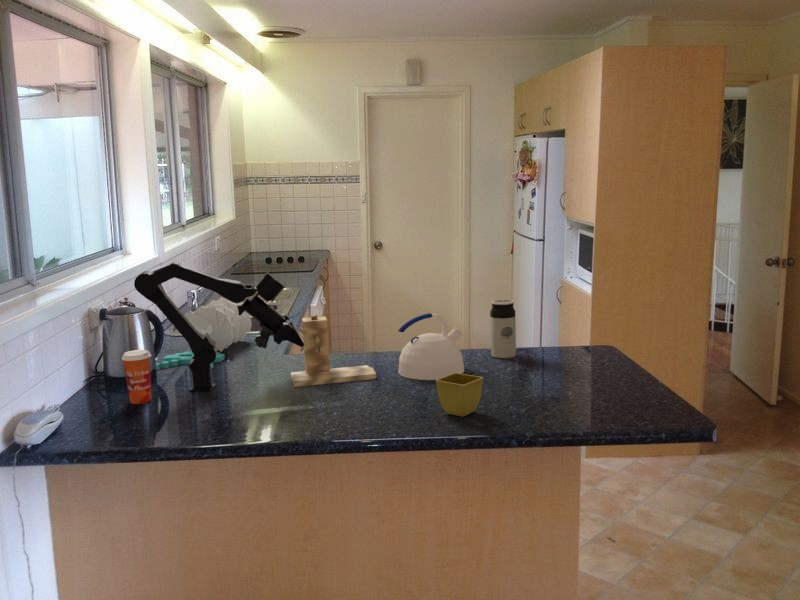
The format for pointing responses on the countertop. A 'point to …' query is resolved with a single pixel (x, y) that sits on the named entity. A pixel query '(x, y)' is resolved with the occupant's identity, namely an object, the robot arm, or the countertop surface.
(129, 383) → the paper cup
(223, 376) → the countertop surface
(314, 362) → the tan wooden tall block
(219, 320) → the spiral staircase
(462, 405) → the flower pot
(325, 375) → the board
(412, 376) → the kettle
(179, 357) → the alien figure
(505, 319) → the travel mug
